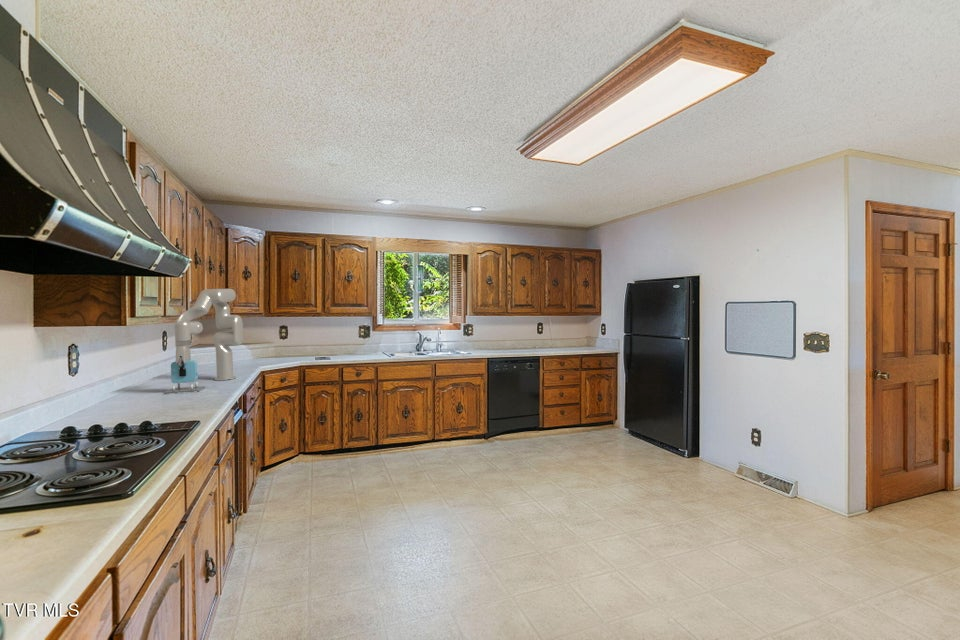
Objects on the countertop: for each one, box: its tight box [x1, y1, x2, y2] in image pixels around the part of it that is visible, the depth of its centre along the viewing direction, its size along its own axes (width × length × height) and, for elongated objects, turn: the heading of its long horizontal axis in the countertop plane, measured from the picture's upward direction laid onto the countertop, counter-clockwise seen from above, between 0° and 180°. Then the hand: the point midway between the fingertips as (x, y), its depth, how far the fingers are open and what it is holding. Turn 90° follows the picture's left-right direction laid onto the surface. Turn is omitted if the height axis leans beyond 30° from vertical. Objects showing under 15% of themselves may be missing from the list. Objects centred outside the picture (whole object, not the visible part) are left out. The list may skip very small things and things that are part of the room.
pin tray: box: [163, 381, 207, 394], centre depth 261 cm, size 14×17×4 cm
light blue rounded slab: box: [170, 360, 199, 384], centre depth 260 cm, size 12×4×12 cm, turn 111°
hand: (184, 375), depth 260 cm, fingers closed on light blue rounded slab, 4 cm apart
